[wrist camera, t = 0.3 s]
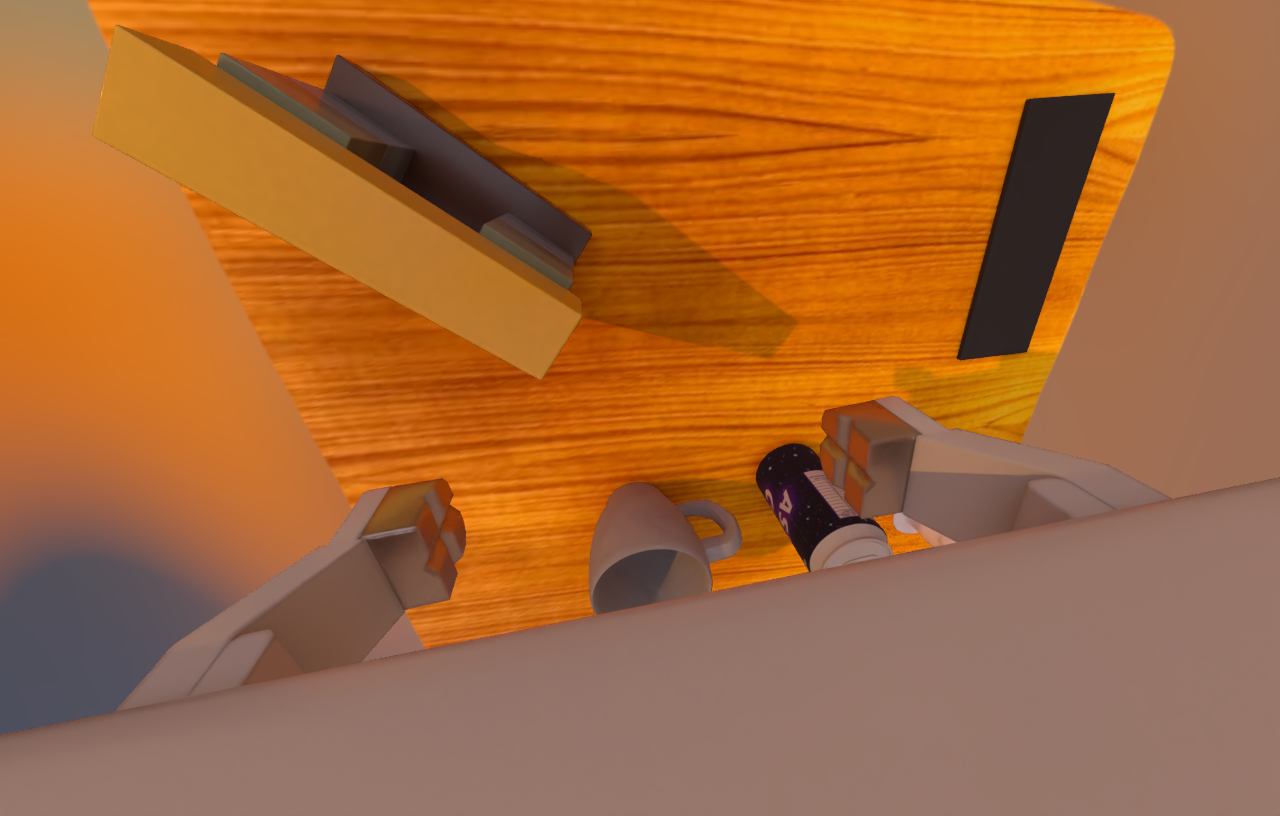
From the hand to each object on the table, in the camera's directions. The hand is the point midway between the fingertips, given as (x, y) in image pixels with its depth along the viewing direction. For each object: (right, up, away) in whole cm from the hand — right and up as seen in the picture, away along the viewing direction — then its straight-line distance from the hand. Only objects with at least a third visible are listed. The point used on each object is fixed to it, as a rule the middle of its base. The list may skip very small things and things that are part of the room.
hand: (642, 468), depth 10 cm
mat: (+29, +14, +24) cm, 40 cm away
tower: (-12, +13, +18) cm, 25 cm away
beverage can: (+13, -4, +31) cm, 33 cm away
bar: (-10, +9, +9) cm, 17 cm away
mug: (+1, -7, +31) cm, 31 cm away
